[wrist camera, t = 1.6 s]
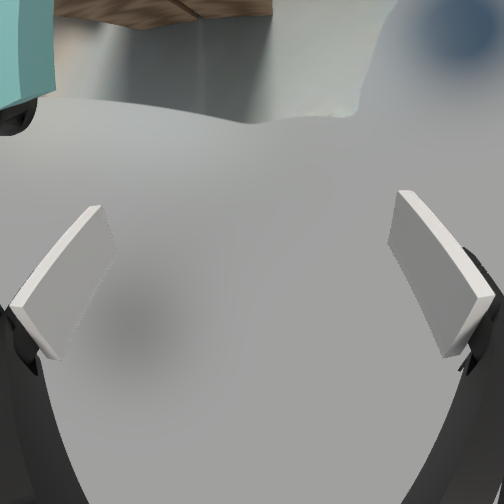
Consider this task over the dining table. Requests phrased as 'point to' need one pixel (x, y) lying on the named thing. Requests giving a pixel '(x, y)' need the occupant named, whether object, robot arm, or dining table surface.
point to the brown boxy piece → (158, 10)
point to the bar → (26, 50)
